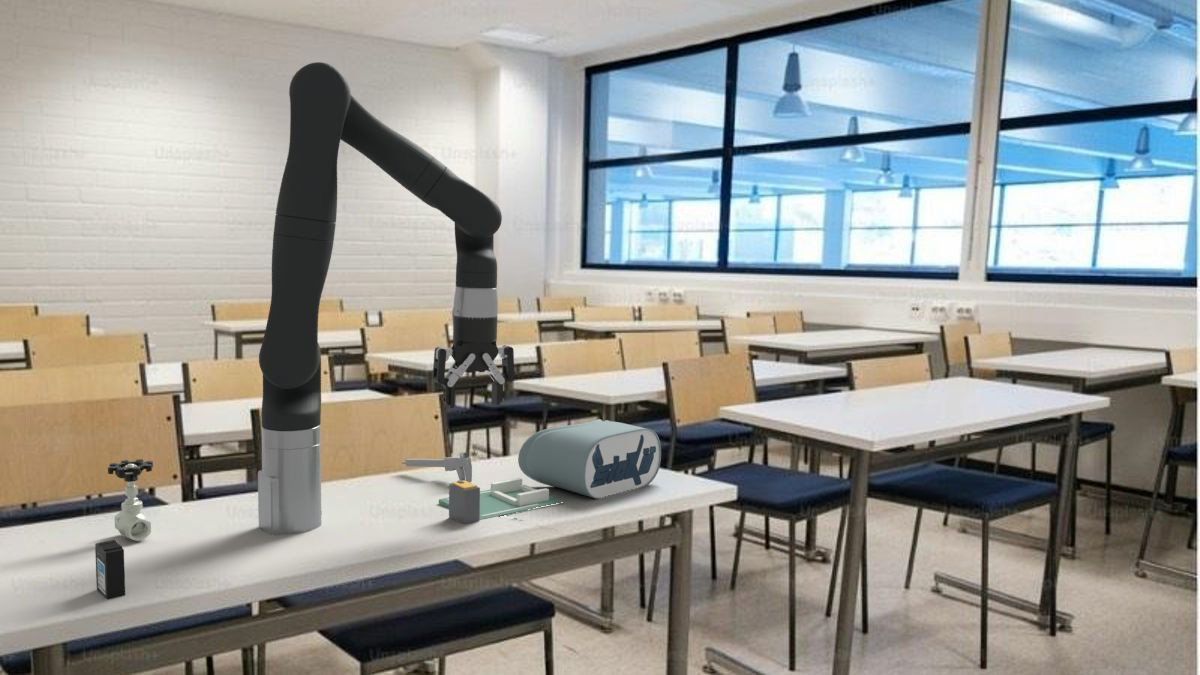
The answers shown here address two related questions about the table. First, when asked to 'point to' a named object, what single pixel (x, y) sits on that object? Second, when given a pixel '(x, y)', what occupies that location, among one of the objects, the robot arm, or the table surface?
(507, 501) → the board
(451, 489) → the switch
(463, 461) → the caliper
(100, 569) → the ink cartridge
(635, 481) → the pencil case
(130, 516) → the valve
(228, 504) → the table surface
